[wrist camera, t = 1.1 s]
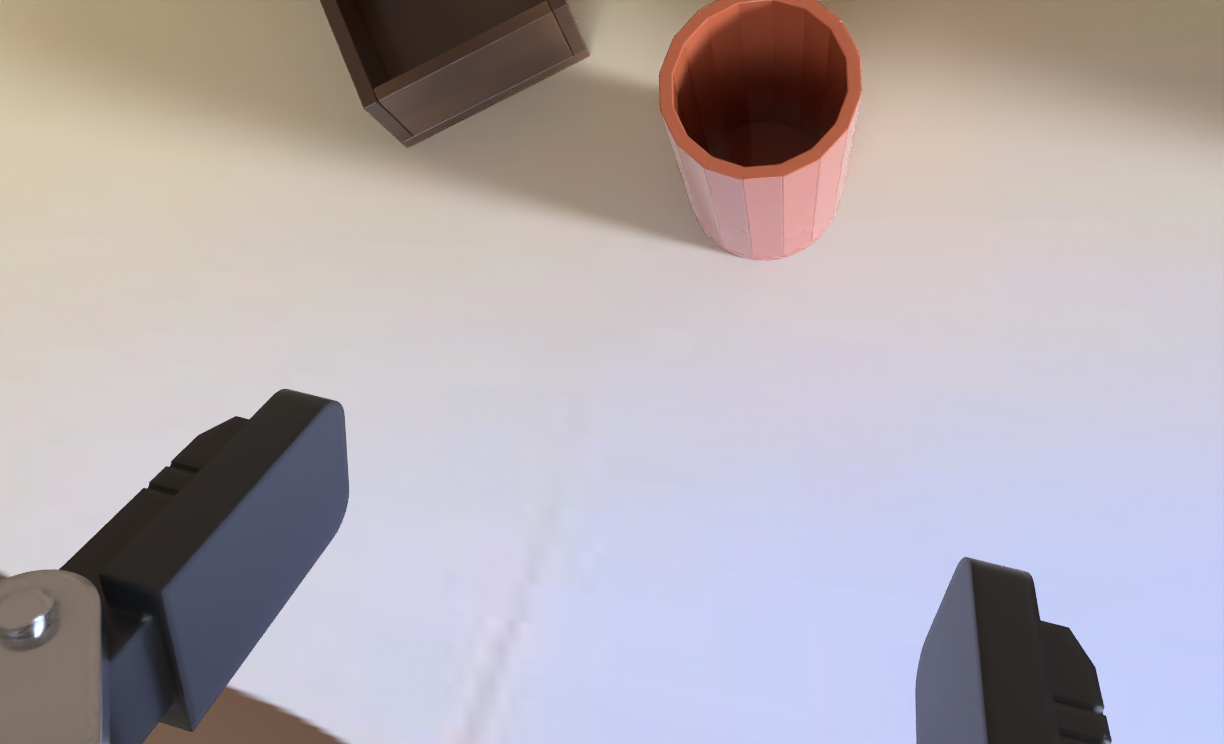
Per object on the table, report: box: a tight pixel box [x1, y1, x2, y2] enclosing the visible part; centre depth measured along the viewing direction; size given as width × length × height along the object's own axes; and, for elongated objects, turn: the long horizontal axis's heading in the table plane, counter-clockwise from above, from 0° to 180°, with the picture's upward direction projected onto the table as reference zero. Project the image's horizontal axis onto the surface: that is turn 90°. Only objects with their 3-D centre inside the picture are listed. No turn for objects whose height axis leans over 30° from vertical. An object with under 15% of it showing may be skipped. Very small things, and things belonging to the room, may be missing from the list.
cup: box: [659, 0, 862, 260], centre depth 31 cm, size 6×6×10 cm
